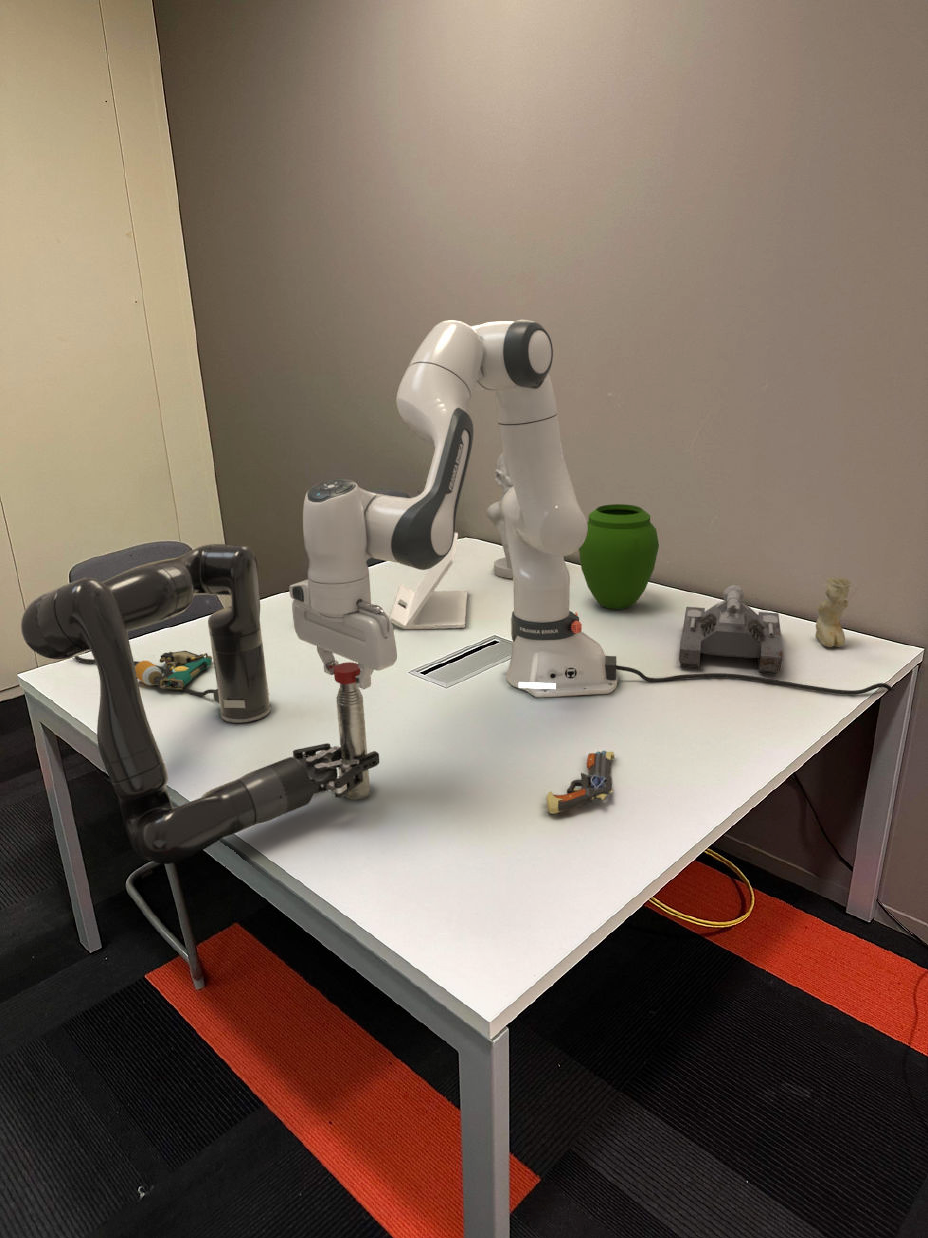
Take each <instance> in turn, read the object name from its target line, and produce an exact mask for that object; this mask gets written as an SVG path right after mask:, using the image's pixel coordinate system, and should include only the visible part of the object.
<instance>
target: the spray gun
mask: <svg viewBox="0 0 928 1238" xmlns="http://www.w3.org/2000/svg"><path fill="white" fill-rule="evenodd" d="M212 660H213V656H211V655H208V653H207V652H205V653H201V654H197V653H194V652H192V651H191V652H190V651H188V650H180V651H169V652H164V653H162V654H161V655H160V658H159V660H158V662H159V663H161V664H163V663H165V664H166V668H165V669H166V670H165V671H164V672H163V671H161V670H160V669H159V668H158V667H157V666H158V665H157V666H155V665H156V664H154V663H152V662H151V661H149V660H141V661H138V662H139V663H138V664H137V665H135V670H136V674H137V679H138V681H140V682H142V683H143V684H145V685H147V686H155V685H157V686H158V687H160V688H161V689H171V690H172V689H173V690H182V688H183V686H185V687H186V685H188V684H189V683H190V682H191V681H192V679H193V678H195V677H196V676H197V675H198V674H200V673H201V672H202V671H203V670H206V669H208V668H209V667H210V666H211V665H212V662H213V661H212ZM178 663H179V664H181V665H179V666H176V665H177V664H178ZM162 672H163V673H164V674H163V673H162ZM179 687H181V688H179Z"/></svg>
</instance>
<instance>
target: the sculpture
mask: <svg viewBox="0 0 928 1238" xmlns="http://www.w3.org/2000/svg"><path fill="white" fill-rule="evenodd" d="M826 581H827V586H826V588H825V590H824V593H825V595H826V596H827V598H826V600H824V601H822V602H821V603H820V604H819V605H818V606H817V609H816V610H817V612H818V614H819V616H818V617H817V619H816V623H815V630H816V631H815V634H814V635H815V639H817V640H819V642H820V643H821V644H822V645H823V646H825V647H827V648H832V647H834V646H835V647H843V646H844V645H845V643H846V642H845V641H846V636H845V632H844V630H843V626H842V624H841V622H840V621H841V617H842V615H843V612H844V610H845V609H846V608H847V606H848V604H849V603H848V602H849V601H847V598H848V597H849V592H850V586H851V585H852V582H850V580H848V579H847V578H845V577H841V576H840V577H835V578H831V577H827V578H826Z"/></svg>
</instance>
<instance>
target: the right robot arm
mask: <svg viewBox="0 0 928 1238" xmlns="http://www.w3.org/2000/svg"><path fill="white" fill-rule="evenodd" d="M542 325H543V324H541V323H539V322H537V321H533V320H529V319H517V320H515V321H513V320H512V321H511V320H510V321H509V320H502V321H501V320H500V321H487V322H484V323H482V324H476V325H469V324H467V323H465V322H463V321H460V320H454V319H450V320H444V321H441V322H439V323H437V324H436V325H434V327H433V328H432V329H431V330H430V331H429V332H428V334H427V335H426V337H424V339H423V341H422V342H421V344H420V345H419V347H418V348H417V349H416V351H415V353H414V355H413V356H412V358H411V360H410V362H409V364H408V366H407V368H406V370H405V372H404V374H403V376H402V379H401V381H400V383H399V386H398V389H397V391H396V392H397V393H396V398H395V401H396V408H397V412H398V414H399V417H400V418H401V420H402V422H403V423H404V425H405V426H406V427H407V428H408V429H409V430H410V431H411V432H412V433H413V434H414V435H416V437H418V438H419V439H421V440H422V441H424V442H426V443H428V444H430V445H431V446H433V447H434V452H433V456H432V459H431V463H430V467H429V471H428V474H427V479H426V483H425V486H424V489H423V491H422V492H421V493H420V494H418V495H416V496H413V497H403V496H395V495H394V496H392V495H388V494H383V493H377V492H372V491H368V490H365V489H364V488H362V487H359V486H358V483H356V482H355V481H354V480H351V479H347V478H346V479H345V478H333V479H330V480H323V481H321V482H318V483H316V484H314V485H313V486H311V487H310V488H309V489H308V490H307V491H306V493H305V497H304V501H303V509H302V525H303V526H302V530H303V532H302V533H303V540H304V541H303V543H304V549H305V552H306V554H307V558H308V569H307V579H305V580H302V581H299V582H296V583H293V584H290V586H289V587H288V591H289V597H290V598H291V599H292V604H291V610H292V613H291V614H292V621H293V627H294V632H295V634H296V635H297V638H298V639H299V640H301V641H303V642H305V643H308V644H310V645H312V646H316V652H317V654H318V656H319V658H320V660H321V662H322V664H323V671H324V673H325V674H327V675H329V676H334V667H335V666H336V665H338V664H339V661H337V660H336V659H335V656H334V655H337V656H339V657H343V658H345V659H347V660H350V661H352V662H353V663H357V664H358V668H359V669H361V672H360V675H358V676H356V677H355V680H356V686H357V687H359V689H362V690H366V689H368V688H370V687H371V686H372V675H373V673H374V670H375V671H377V672H379V671H382V670H386V669H387V668H390V667H392V666H393V665H394V664H395V663H396V662H397V659H398V650H397V643H396V637H395V631H394V627H393V623H392V622H391V621H390V619H389V617H390V616H389V615H387V614H386V612H385V611H384V610H383V606H380V605H378V604H373V603H372V594H371V593H372V592H371V581H370V569H369V565H368V563H367V562H368V560H370V559H374V560H378V561H379V560H381V561H384V562H385V561H387V562H391V563H396V564H397V563H398V564H400V565H403V566H405V567H411V568H413V569H416V570H420V571H427V570H430V568H432V567H433V566H435V565H436V564H438V563H439V562H440V561H441V560H443V559H444V558H445V557H446V555H447V554H448V553H449V551H450V549H451V547H452V544H453V540H454V533H455V532H456V531H455V530H456V517H457V511H458V507H459V502H460V499H461V494H462V491H463V486H464V483H465V478H466V474H467V470H468V466H469V462H470V457H471V452H472V448H473V442H474V424H473V421H472V418H471V416H470V414H468V412H467V411H468V405H469V403H470V401H471V399H472V397H473V393H474V392H495V409H496V418H497V425H498V432H499V439H500V446H501V451H502V452H501V453H503V458H504V464H505V467H506V469H507V471H508V473H509V475H510V478H511V481H512V483H513V486H514V487H512V488H511V489H509V490H508V491H507V492H506V494H505V495H504V497H503V499H502V501H501V507H500V510H501V515H502V518H503V521H504V524H505V529H506V536H507V542H508V549H509V554H510V559H511V565H512V571H513V578H512V580H513V583H512V586H513V587H512V588H513V589H512V590H513V611H512V612H511V618H510V635H511V640H512V645H511V646H512V647H511V655H510V660H509V665H508V669H507V672H506V675H505V678H506V681H507V683H509V684H510V685H511V686H513V687H515V688H517V689H519V690H522V691H525V692H527V693H529V694H530V695H531V696H533V697H535V698H556V697H572V696H573V697H574V696H588V695H589V696H590V695H591V696H592V695H607V694H611V693H612V692H613V691H615V690H616V688H617V686H618V673H617V670H618V671H622V672H623V671H624V672H629V673H633V674H635V675H637V676H638V677H640V678H641V679H642V680H643V681H645V682H650V683H664V682H665V683H666V682H673V681H676V680H683V679H685V680H687V679H702V678H704V679H705V678H726V679H740V680H749V681H754V682H761V683H762V682H763V683H769V684H773V685H775V684H776V685H780V686H786V687H792V688H796V689H803V690H807V691H809V690H810V691H815V692H821V693H828V694H836V695H847V696H848V695H849V696H850V695H851V696H855V695H862V694H865V693H869V692H871V691H873V690H876V689H878V688H885V689H886V690H887V691H890V692H893V691H895V689H894V688H893V687H892V686H891V685H890V684H887V683H885V682H878V683H875V684H872V685H870V686H868V687H865V688H862V689H856V690H855V689H853V690H851V689H850V690H848V689H835V688H830V687H822V686H815V685H809V684H803V683H797V682H791V681H786V680H781V679H775V678H769V677H761V676H755V675H748V674H739V673H723V672H721V673H720V672H719V673H718V672H707V673H706V672H705V673H690V674H689V673H688V674H677V675H671V676H667V677H659V678H658V677H656V678H655V677H650V676H646V675H645V674H644V673H643V672H641V671H640V670H639V669H636V668H633V667H629V666H623V665H618V664H617V655H606V654H605V651H604V648H603V647H602V645H601V644H600V643H599V642H598V641H596V640H595V639H593V638H591V637H590V636H589V635H587V634H586V633H585V632H583V631H582V630H583V626H582V625H583V624H582V622H581V621H580V616H579V615H578V612H577V611H575V613H574V612H573V611H571V610H570V590H571V589H570V586H571V585H570V584H571V578H570V577H571V576H570V573H569V569H568V567H567V563H566V561H565V557H566V556H569V555H572V554H574V553H576V552H577V551H579V548H580V547H581V546H582V544H583V543H584V541H585V539H586V536H587V531H588V525H587V522H588V521H587V518H586V516H585V515H584V512H583V511H582V509H581V506H580V504H579V502H578V499H577V495H576V492H575V487H574V484H573V482H572V479H571V476H570V472H569V469H568V466H567V462H566V458H565V455H564V449H563V442H562V435H561V433H562V432H561V428H560V426H561V425H560V420H559V412H558V404H557V398H556V394H555V390H554V385H553V382H552V379H551V374H550V370H551V368H552V363H553V359H554V347H553V341H552V339H551V337H550V335H549V333H548V332H547V330H546V329H545V328H544V327H543V326H542Z"/></svg>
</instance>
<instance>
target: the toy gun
mask: <svg viewBox="0 0 928 1238" xmlns="http://www.w3.org/2000/svg"><path fill="white" fill-rule="evenodd" d="M615 758H616V757H615V753H614V751H613V750H610V751H607V750H602V752H601V751H599V750H598V751H596V752H593V753H588V755H587V759H586V768H587V770H588V771H589V773H588V774H587V773H584V772H581V773H580V779H574V780H572V781H571V782H570V786H569V787H568V788H567V790H566V794H555V793H554V792H552V791H549V792H547V795H546V808H547V811H548V813H549V814H558V813H560V812H564V811H568V810H571V809H575V808H577V807H580V806H583V805H587V804H590V803H592V802H594V801H597V800H599V799H600V800H601V801H604V800H605V799H606V798H607V797H608V794H612V793H613V778H612V776H611V765H612V760H615ZM576 787H580V788H579V789H578V788H576Z"/></svg>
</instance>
